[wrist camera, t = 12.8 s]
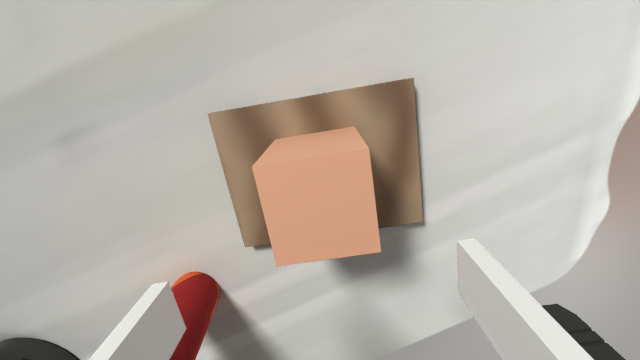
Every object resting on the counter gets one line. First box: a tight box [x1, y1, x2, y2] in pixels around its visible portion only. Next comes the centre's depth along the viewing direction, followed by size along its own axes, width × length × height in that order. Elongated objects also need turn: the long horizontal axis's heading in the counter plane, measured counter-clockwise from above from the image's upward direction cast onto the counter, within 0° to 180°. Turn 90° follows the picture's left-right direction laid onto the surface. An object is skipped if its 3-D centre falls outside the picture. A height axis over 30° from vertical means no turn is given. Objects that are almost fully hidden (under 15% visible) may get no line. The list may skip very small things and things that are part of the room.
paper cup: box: [169, 272, 220, 360], centre depth 31 cm, size 8×8×14 cm
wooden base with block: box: [208, 78, 423, 247], centre depth 28 cm, size 20×15×10 cm
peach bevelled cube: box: [252, 126, 381, 266], centre depth 26 cm, size 8×8×10 cm
